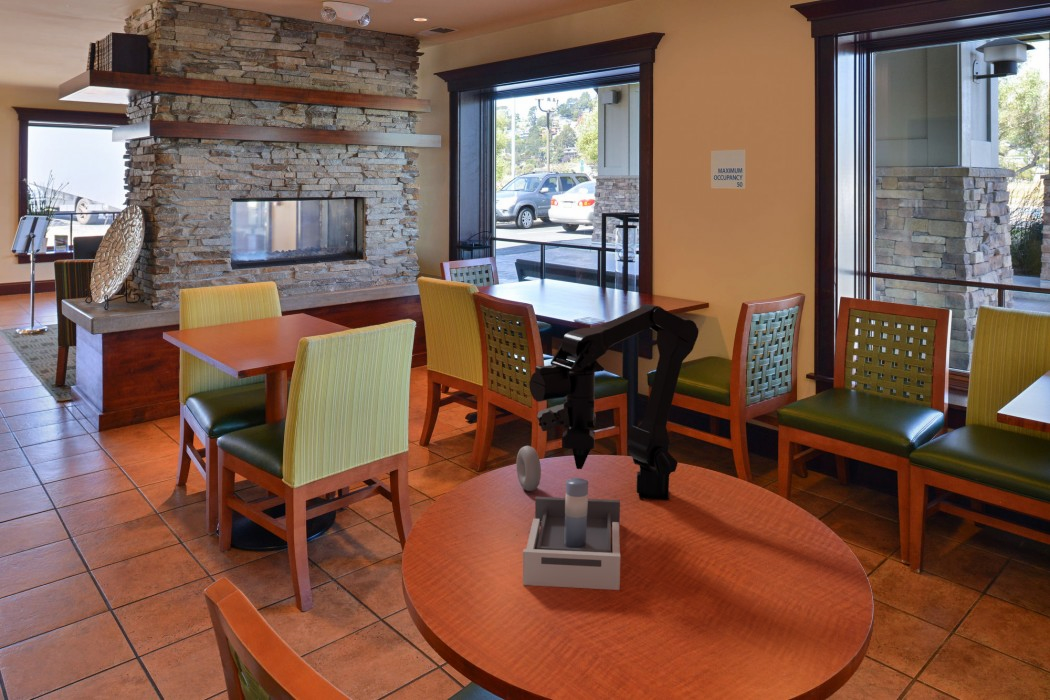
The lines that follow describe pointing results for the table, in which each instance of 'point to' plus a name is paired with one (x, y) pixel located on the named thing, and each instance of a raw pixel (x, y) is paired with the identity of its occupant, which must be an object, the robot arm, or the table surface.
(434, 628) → the table surface
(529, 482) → the donut
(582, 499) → the canister
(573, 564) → the dock
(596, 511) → the tray
